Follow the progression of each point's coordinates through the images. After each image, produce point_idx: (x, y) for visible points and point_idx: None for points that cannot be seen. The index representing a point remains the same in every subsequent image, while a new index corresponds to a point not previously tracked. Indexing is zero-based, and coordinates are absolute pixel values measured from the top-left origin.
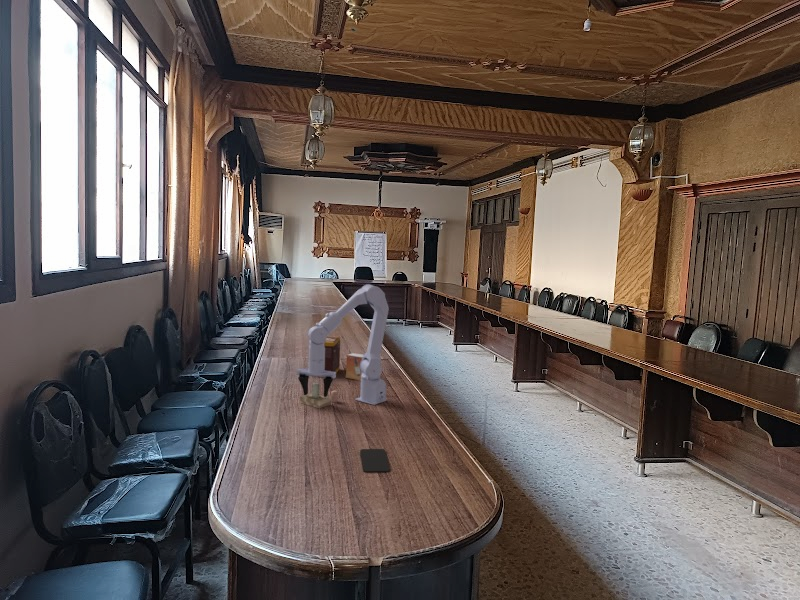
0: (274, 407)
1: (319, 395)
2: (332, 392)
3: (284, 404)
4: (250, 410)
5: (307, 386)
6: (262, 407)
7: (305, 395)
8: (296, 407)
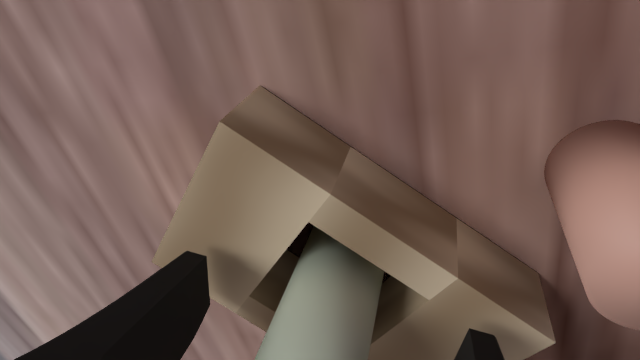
0: (83, 308)
1: (368, 242)
2: (605, 311)
3: (101, 255)
4: (9, 340)
5: (138, 335)
6: (22, 304)
7: (194, 241)
8: (219, 319)
